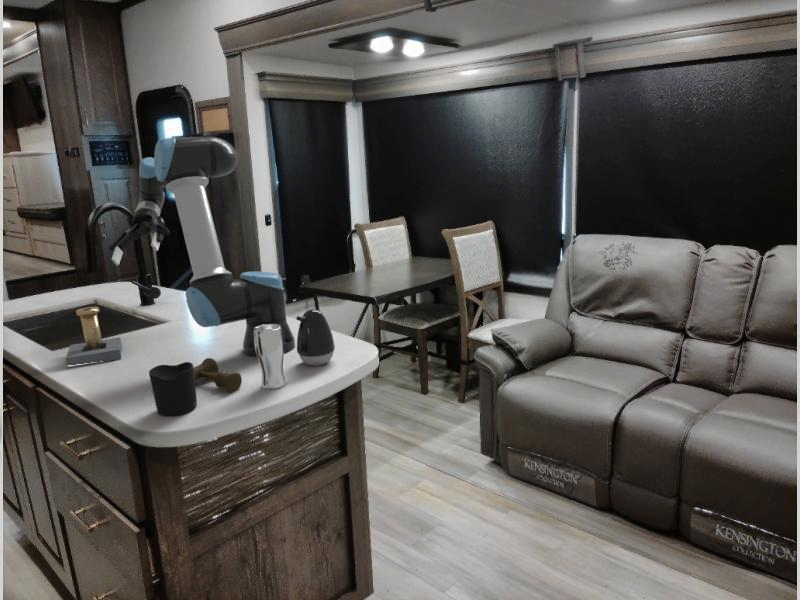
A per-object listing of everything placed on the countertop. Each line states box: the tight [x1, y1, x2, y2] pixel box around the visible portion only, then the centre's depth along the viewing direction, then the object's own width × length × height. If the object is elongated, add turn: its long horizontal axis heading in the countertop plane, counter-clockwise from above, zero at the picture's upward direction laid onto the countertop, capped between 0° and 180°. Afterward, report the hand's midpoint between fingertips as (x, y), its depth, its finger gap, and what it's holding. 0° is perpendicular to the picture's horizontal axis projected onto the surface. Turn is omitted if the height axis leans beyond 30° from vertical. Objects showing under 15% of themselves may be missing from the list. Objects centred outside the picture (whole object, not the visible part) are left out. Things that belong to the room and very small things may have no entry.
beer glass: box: [254, 324, 287, 390], centre depth 146 cm, size 7×7×15 cm
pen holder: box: [148, 361, 198, 417], centre depth 135 cm, size 9×9×10 cm
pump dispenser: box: [296, 308, 336, 367], centre depth 160 cm, size 10×10×15 cm
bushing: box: [75, 306, 103, 351], centre depth 176 cm, size 6×6×15 cm
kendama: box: [193, 357, 243, 393], centre depth 149 cm, size 6×10×20 cm
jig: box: [65, 336, 123, 366], centre depth 177 cm, size 14×14×3 cm
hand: (134, 255), depth 182 cm, fingers open, 13 cm apart
